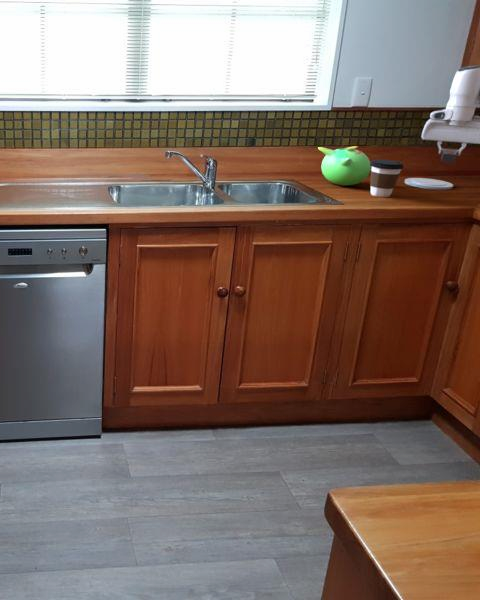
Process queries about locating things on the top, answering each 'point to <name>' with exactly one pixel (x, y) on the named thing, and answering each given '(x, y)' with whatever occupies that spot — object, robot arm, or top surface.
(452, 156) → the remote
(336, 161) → the toy bird
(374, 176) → the coffee cup
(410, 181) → the plate
